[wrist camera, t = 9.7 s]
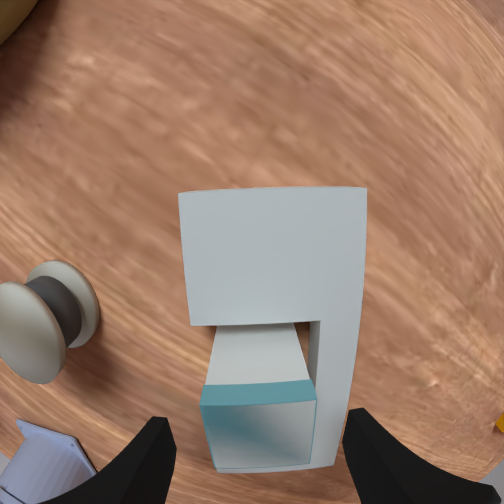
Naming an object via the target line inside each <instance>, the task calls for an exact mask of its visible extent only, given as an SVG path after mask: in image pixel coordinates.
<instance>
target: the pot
mask: <svg viewBox="0 0 504 504" xmlns="http://www.w3.org/2000/svg"><path fill="white" fill-rule="evenodd" d="M37 1H38V0H0V45H1V44H2V43H3V42H4V41H5V40H6V39H7V38H8V37H9V36H10V35H11V34H12V33H13V32H14V31H15V30H16V29H17V28H18V27H19V26H20V24H21V23H22V22H23V21H24V20H25V18H26V17H27V16H28V14H29V13H30V12H31V10H32V9H33V8H34V6H35V5H36V3H37Z"/></svg>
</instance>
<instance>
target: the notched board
mask: <svg viewBox="0 0 504 504" xmlns="http://www.w3.org/2000/svg"><path fill="white" fill-rule="evenodd" d="M178 199H179V214H180V227H181V240H182V251H183V262H184V272H185V281H186V290H187V299H188V307H189V315H190V323H191V326H209V325H249V324H272V323H290V322H306V321H310V330H309V350H308V367H307V371H308V374H309V377H310V379H312V382H313V385H314V389H315V392H316V395H317V409H316V419H315V428H314V437H313V445H312V453H311V461H310V464H301V465H292V466H281V467H267V468H238V469H223V468H217V473H264V472H281V471H293V470H303V469H311V468H319V467H326V466H333V465H334V462H335V458H336V454H337V450H338V446H339V442H340V437H341V433H342V428H343V424H344V419H345V414H346V409H347V404H348V399H349V394H350V388H351V382H352V376H353V370H354V364H355V357H356V350H357V342H358V334H359V326H360V317H361V307H362V297H363V284H364V270H365V252H366V224H367V188H361V187H349V186H304V187H261V188H236V189H217V190H201V191H188V192H183V193H178Z"/></svg>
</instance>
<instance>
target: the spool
mask: <svg viewBox="0 0 504 504" xmlns="http://www.w3.org/2000/svg"><path fill="white" fill-rule="evenodd" d="M99 319H100V309H99V304H98V300H97V297H96V294H95V292H94V290H93V288H92V286H91V284H90V283H89V281H88V280H87V278H86V277H85V276H84V275H83V274H82V273H81V272H80V271H79V270H78V269H77V268H76V267H74V266H73V265H71V264H69V263H67V262H65V261H61V260H49V261H46V262H44V263H42V264H40V265H38V266H37V267H35V268H34V269H33V270H32V271H31V272H30V274H29V276H28V278H27V281H26V284H22V283H19V282H16V281H7V282H4V283H2V284H0V356H1V358H2V359H3V360H4V362H5V363H6V364H7V365H8V366H9V367H10V368H11V369H12V370H13V371H14V372H15V373H17V374H18V375H19V376H21V377H22V378H24V379H26V380H28V381H30V382H33V383H36V384H47V383H49V382H51V381H52V380H54V378H55V377H56V376H57V375H58V374H59V373H60V371H61V370H62V369H63V367H64V365H65V361H66V349H67V348H75V347H79V346H82V345H83V344H85V343H86V342H87V341H88V340H89V339H90V338H91V337H92V336H93V334H94V333H95V332H96V330H97V327H98V325H99Z"/></svg>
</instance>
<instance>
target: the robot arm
mask: <svg viewBox="0 0 504 504" xmlns="http://www.w3.org/2000/svg"><path fill="white" fill-rule="evenodd" d="M16 424H17V425H18V427H19V429H20V430H21V432H22V434H23V435H24V437H25V438H26V439H25V441H24V442H23V443H22V445H21V446H20V448H19V449H18V450H17V452H16V453H15V455H14V456H13V458H12V459H11V461H10V462H9V464H8V465H7V467H6V468H5V470H4V471H3V473H2V474H1V476H0V504H165V501H166V497H167V493H168V490H169V486H170V483H171V479H172V475H173V471H174V466H175V459H176V450H177V448H176V445H175V442H174V439H173V435H172V432H171V429H170V426H169V422H168V419H167V418H166V417H155V416H153V417H152V418H151V419H150V420H149V421H148V422H147V423H146V425H145V426H144V427H143V428H142V429H141V431H140V432H139V433H138V434H137V435H136V436H135V437H134V439H133V440H132V441H131V442H130V443H129V444H128V445H127V446H126V447H125V448H124V449H123V450H122V451H121V452H120V453H119V454H118V455H117V456H116V457H115V458H114V459H113V460H112V461H111V462H110V463H109V464H108V465H107V466H105V467H104V468H103V469H102V470H101V471H99V472H98V473H96V471H95V470H94V468H93V466H92V465H91V463H90V462H89V460H88V459H87V457H86V455H85V454H84V452H83V450H82V449H81V447H80V445H79V444H78V442H77V440H76V439H75V438H74V437H72V436H68V435H65V434H61V433H58V432H55V431H51V430H48V429H45V428H42V427H39V426H36V425H33V424H31V423H28V422H25V421H22V420H20V419H17V420H16ZM342 444H343V449H344V454H345V458H346V462H347V465H348V468H349V470H350V473H351V476H352V479H353V481H354V484H355V487H356V489H357V492H358V495H359V498H360V500H361V504H500V503H501V498H500V496H499V495H498V493H497V491H496V490H495V489H494V487H493V486H492V485H487V484H482V483H478V482H474V481H470V480H467V479H464V478H461V477H458V476H455V475H453V474H451V473H448V472H446V471H444V470H442V469H440V468H438V467H436V466H434V465H432V464H430V463H429V462H427V461H425V460H424V459H422V458H420V457H419V456H417V455H416V454H415V453H413V452H412V451H411V450H409V449H408V448H407V447H405V446H404V445H403V444H402V443H400V442H399V441H398V440H397V439H396V438H395V437H393V436H392V435H391V434H390V433H389V432H388V431H387V430H386V429H385V428H384V427H382V426H381V425H380V424H379V423H378V422H377V421H376V420H375V419H374V418H373V417H372V416H371V415H370V414H369V413H368V412H367V411H366V410H365V409H364V408H358V409H352V410H349V412H348V417H347V422H346V426H345V431H344V435H343V439H342Z"/></svg>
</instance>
